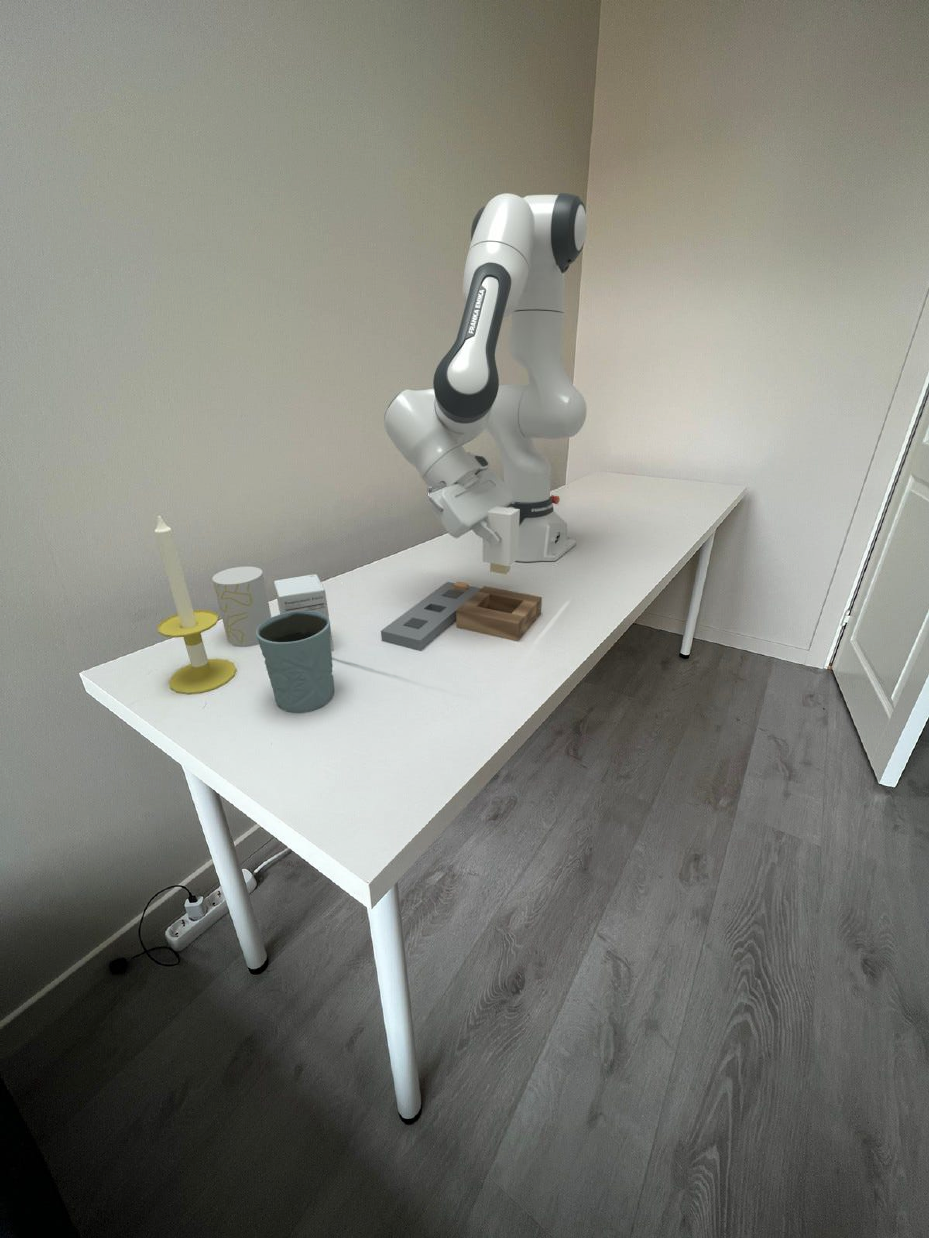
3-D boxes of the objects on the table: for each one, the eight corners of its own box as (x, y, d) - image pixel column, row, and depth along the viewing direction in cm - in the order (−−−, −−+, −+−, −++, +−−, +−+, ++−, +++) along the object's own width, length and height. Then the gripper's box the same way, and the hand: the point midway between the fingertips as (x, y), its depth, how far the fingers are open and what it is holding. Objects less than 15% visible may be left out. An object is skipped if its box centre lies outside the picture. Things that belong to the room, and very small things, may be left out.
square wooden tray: (484, 606, 108) (484, 586, 106) (540, 618, 103) (542, 597, 101) (456, 632, 98) (456, 610, 96) (517, 646, 93) (518, 623, 91)
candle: (188, 659, 91) (143, 503, 78) (246, 660, 90) (209, 502, 78) (156, 694, 82) (99, 523, 69) (220, 694, 81) (174, 522, 69)
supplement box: (285, 645, 95) (272, 579, 89) (327, 637, 97) (318, 572, 91) (290, 665, 89) (277, 596, 83) (335, 656, 91) (325, 588, 85)
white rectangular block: (491, 565, 98) (493, 506, 93) (517, 569, 96) (519, 509, 91) (482, 572, 95) (483, 511, 90) (508, 577, 93) (510, 515, 88)
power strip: (447, 594, 113) (447, 578, 111) (481, 601, 110) (481, 585, 108) (382, 645, 94) (380, 627, 92) (421, 655, 91) (419, 636, 89)
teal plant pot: (274, 722, 75) (258, 649, 70) (267, 685, 83) (252, 617, 78) (346, 704, 79) (336, 633, 73) (332, 671, 87) (322, 604, 81)
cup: (217, 642, 96) (201, 580, 90) (248, 622, 103) (235, 564, 97) (254, 649, 93) (240, 587, 88) (283, 629, 100) (272, 569, 95)
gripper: (434, 476, 82) (491, 546, 82) (489, 455, 98) (537, 514, 98) (410, 502, 86) (465, 569, 86) (468, 477, 102) (513, 534, 102)
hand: (504, 539), depth 92 cm, fingers closed on white rectangular block, 4 cm apart
